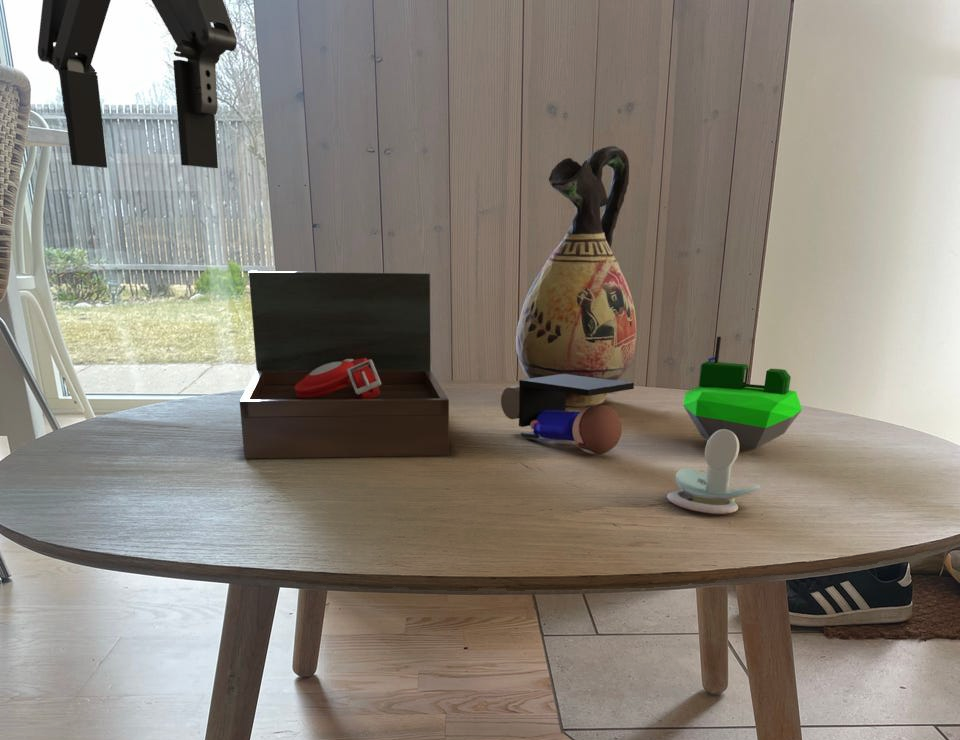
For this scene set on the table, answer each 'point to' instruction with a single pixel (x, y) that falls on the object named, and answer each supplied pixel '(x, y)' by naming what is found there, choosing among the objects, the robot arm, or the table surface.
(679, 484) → the pacifier
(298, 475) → the table surface
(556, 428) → the figurine character
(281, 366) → the open wooden box
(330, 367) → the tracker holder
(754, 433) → the toy tugboat
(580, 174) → the ceramic jug
